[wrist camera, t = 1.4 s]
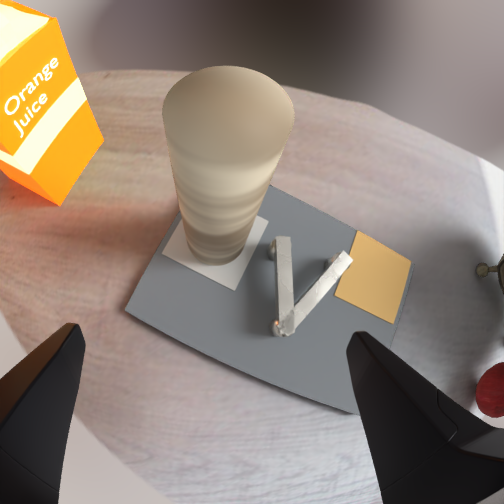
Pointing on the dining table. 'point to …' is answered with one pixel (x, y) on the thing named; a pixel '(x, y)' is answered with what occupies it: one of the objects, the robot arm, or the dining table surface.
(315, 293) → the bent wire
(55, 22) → the orange juice
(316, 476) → the dining table surface
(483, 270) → the tabletop clock
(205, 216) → the peg
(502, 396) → the onion
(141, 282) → the board
